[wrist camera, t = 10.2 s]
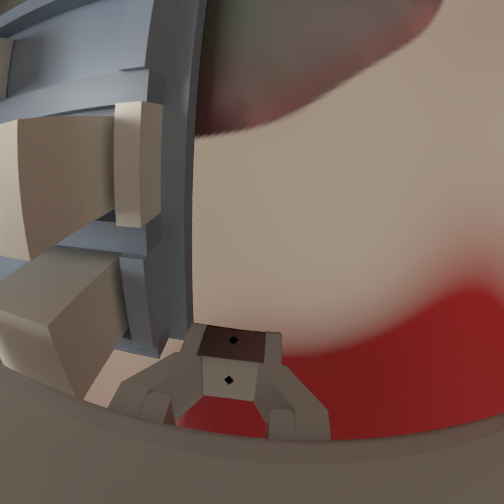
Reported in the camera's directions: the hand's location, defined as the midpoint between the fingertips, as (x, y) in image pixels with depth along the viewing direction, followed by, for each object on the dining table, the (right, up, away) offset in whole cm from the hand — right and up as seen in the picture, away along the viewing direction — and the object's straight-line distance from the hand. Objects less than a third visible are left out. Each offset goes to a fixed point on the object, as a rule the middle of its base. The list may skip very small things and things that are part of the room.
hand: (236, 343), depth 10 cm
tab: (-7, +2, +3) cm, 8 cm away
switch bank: (-10, +8, +2) cm, 13 cm away
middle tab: (-6, +7, +1) cm, 9 cm away
